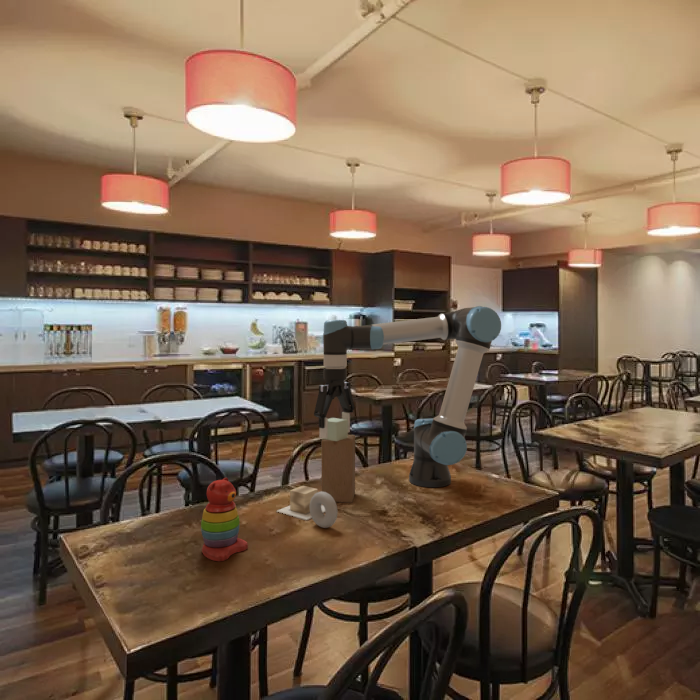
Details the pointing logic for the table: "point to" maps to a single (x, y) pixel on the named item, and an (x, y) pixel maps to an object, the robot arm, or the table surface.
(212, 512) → the stacking bear
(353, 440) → the wooden block
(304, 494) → the maple cube
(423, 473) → the robot arm
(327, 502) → the donut
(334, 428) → the sage cube
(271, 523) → the table surface
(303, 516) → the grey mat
